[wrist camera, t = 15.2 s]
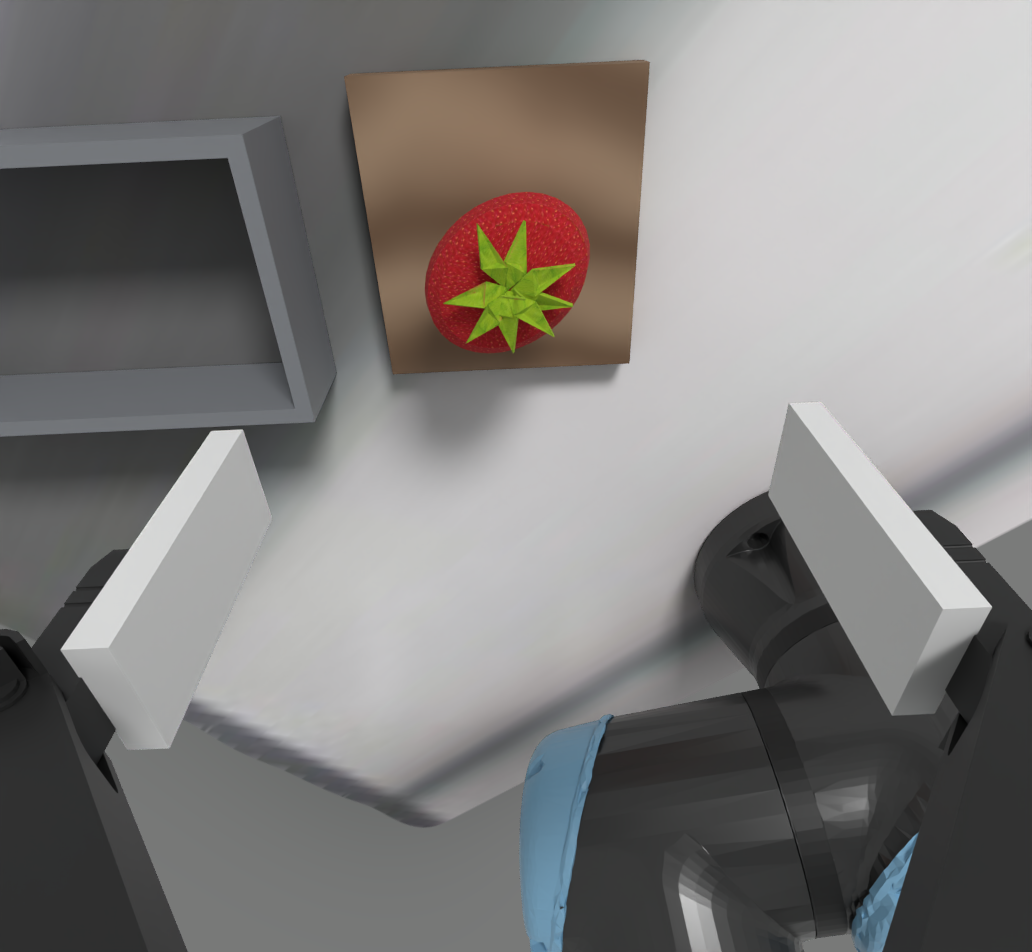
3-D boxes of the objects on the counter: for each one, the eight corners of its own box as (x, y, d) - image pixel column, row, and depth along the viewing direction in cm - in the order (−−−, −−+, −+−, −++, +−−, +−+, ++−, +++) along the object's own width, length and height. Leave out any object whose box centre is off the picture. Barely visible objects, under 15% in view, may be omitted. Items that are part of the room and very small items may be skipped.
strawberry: (405, 239, 32) (375, 317, 24) (529, 132, 29) (544, 179, 21) (482, 330, 35) (479, 427, 26) (602, 239, 32) (639, 317, 24)
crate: (336, 373, 37) (314, 422, 33) (-46, 390, 38) (-120, 441, 33) (280, 115, 30) (242, 134, 25) (-199, 138, 30) (-320, 161, 26)
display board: (624, 351, 37) (629, 363, 36) (396, 362, 37) (392, 374, 36) (643, 59, 29) (649, 62, 28) (350, 73, 29) (344, 76, 28)
